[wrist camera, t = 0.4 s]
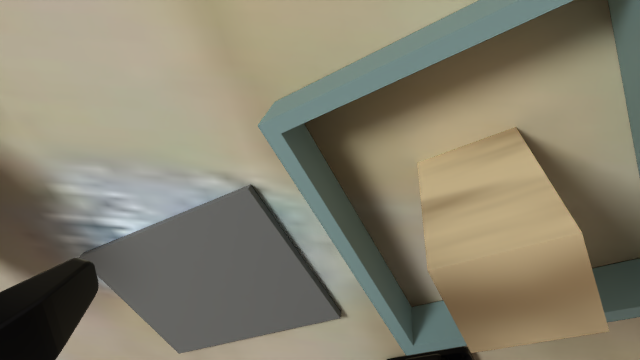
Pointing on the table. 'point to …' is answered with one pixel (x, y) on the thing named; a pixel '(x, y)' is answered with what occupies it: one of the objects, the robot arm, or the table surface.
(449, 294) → the tan wooden block
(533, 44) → the table surface
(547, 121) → the table surface
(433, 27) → the crate
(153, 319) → the mat
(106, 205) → the table surface
